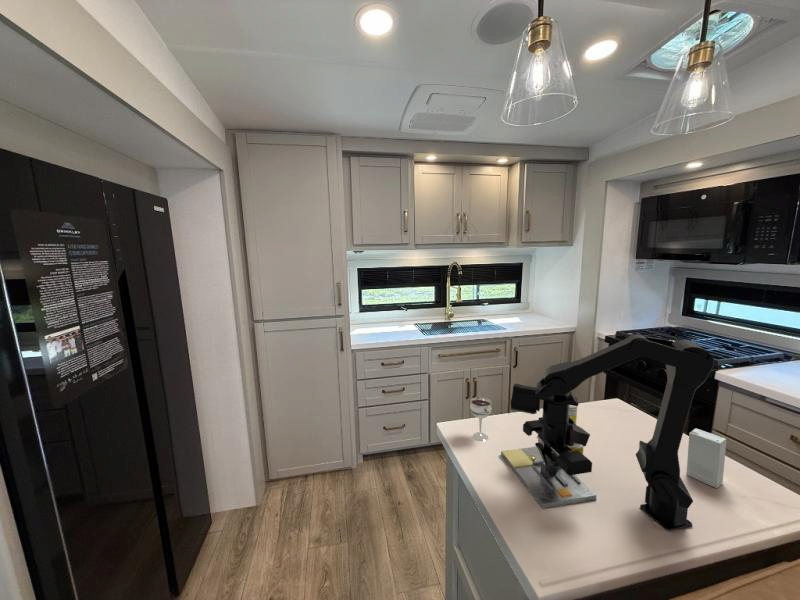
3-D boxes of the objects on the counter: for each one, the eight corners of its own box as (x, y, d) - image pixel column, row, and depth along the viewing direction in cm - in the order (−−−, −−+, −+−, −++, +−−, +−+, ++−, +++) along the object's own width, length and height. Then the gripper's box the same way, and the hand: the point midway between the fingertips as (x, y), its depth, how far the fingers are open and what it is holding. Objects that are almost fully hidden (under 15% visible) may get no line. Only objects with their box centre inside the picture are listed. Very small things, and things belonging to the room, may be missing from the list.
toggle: (553, 476, 80) (554, 465, 79) (545, 477, 79) (545, 466, 79) (548, 471, 82) (549, 460, 81) (540, 472, 81) (541, 461, 81)
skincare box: (723, 483, 78) (728, 438, 76) (716, 489, 76) (722, 444, 74) (691, 469, 83) (696, 427, 82) (684, 475, 81) (689, 431, 79)
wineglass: (492, 443, 96) (493, 407, 95) (470, 441, 98) (470, 406, 96) (489, 431, 103) (490, 397, 101) (469, 430, 104) (469, 396, 103)
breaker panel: (596, 499, 73) (596, 492, 73) (542, 508, 71) (542, 500, 71) (544, 449, 93) (544, 443, 93) (500, 454, 91) (501, 448, 91)
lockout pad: (534, 465, 84) (534, 464, 84) (514, 467, 83) (514, 466, 83) (520, 449, 91) (520, 448, 91) (501, 452, 90) (501, 451, 90)
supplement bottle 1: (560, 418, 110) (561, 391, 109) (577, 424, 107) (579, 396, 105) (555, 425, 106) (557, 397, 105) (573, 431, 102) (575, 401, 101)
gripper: (615, 434, 68) (610, 498, 70) (559, 397, 87) (556, 449, 89) (570, 440, 67) (567, 505, 69) (522, 401, 85) (520, 454, 87)
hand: (552, 475), depth 78 cm, fingers closed
